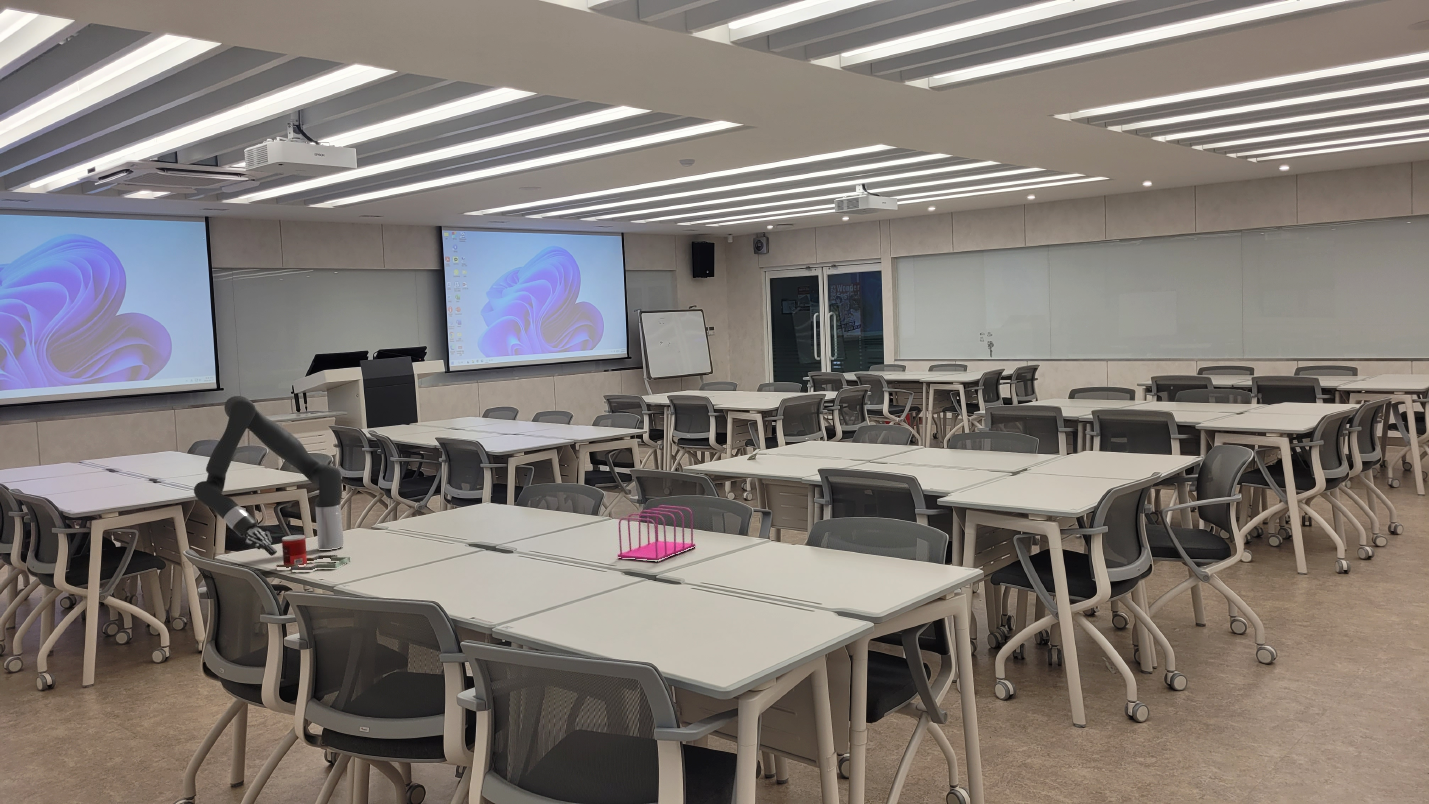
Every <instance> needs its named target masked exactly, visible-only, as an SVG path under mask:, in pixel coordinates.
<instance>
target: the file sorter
mask: <svg viewBox="0 0 1429 804" xmlns="http://www.w3.org/2000/svg"><path fill="white" fill-rule="evenodd" d="M666 508H669V509H666ZM677 509H678V510H677ZM679 509H681V510H687V511H689V514H690V541H691V543H690V542H685V518H684V517H685V516H684V514H683V513H682V512H681V511H680V510H679ZM645 512H646V513H645ZM670 512H676V513H679V514H680V516H681V526H682V527H681V529H682V532H681V533H682V542H680V541H679V542H678V541H677V538H676V537H677V536H676V535H677V531H676V530H677V529H676V526H677V523H676V518H675V516H674V514H673V513H670ZM650 513H651V514H650ZM653 513H654V514H653ZM659 514H660V515H659ZM662 515H667V516H671V518H672V519H673V541H667V535H666V534H667V533H666V532H667V531H666V521H665V518H664V517H663V516H662ZM631 516H638V517H631ZM641 516H644V517H645V516H646V517H647V518H641ZM650 517H655V520H653V519H651V518H650ZM658 518H660V519H661V520H662V525H663V540H659V519H658ZM623 520H627V531H628V543H629V544H628V545H629V550H627V551H624V552H623V547H622V533H621V531H622V530H621V522H622V521H623ZM630 520H636V521H638V547H635V548H632V540H631V527H630V526H631V525H630ZM641 521H647V522H646V523H647V525H646V527H647V544H646V543H645V544H643V545H642V544H641V543H642V538H641V533H642V532H641V531H642V530H641V527H642V526H641V525H642V524H641ZM650 522H651V523H653V526H654V527H653V528H654V541H652V542H650V539H651V538H650ZM693 523H694V521H693V512H692V510H691V509H690V508H689V507H684V506H674V505H673V506H672V505H663V504H662V505H658V506H657V507H656V508H654V507H651V508H649V509H648V510H647V509H643V510H641V511H640V512H639V513H634V512H633V513H631V514H629V515H628V517H621V518H620V519H619V521H618V538H619V539H618V540H619V553H618V554H617V558H618V557H621V558H635V559H647V560H659V559H662V558H665V557H668V556H670V555H672V554H676V553H678V552H681V551H684V550H686V549H688V548H691V547H694V546H695V547H696V543H694V530H693V529H694V527H693V525H694V524H693Z"/></svg>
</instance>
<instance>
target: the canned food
mask: <svg viewBox="0 0 1429 804" xmlns="http://www.w3.org/2000/svg"><path fill="white" fill-rule="evenodd" d="M306 543H307V541H306V536H305V535H304V534H294V535H288V536H287V535H286V536H284V537H282V538H281V547H282V560H283V561H282V562H283V563H282V564H283V565H292V564H298V565H304V564H306V563H307V558H308V557H307V545H306ZM307 564H308V563H307Z"/></svg>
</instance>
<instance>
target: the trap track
mask: <svg viewBox="0 0 1429 804" xmlns="http://www.w3.org/2000/svg"><path fill="white" fill-rule="evenodd" d="M323 558H330V559H331V561H339V562H337V563H315V564H314V565H311V566H305V567H299V566H298V564H292V565H284V564H276V567H286V568H289V567H291V570H313V569H315V568H337V567H339V566H341V565H343V564H345V563H347V562H350V563H351V557H350V556H340V557H339V556H338V554H318V555H316V556H314V557H307V561H314V560H317V559H323ZM291 570H290V571H291Z"/></svg>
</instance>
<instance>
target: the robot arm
mask: <svg viewBox="0 0 1429 804" xmlns="http://www.w3.org/2000/svg"><path fill="white" fill-rule="evenodd" d="M223 409H224V412H225V415H226V416H227V417H228V421H227V425H226V427H225V429H224V431H223V434H222V436H221V438H220V439H219V440H218V442H217V444H216V445H215V447H214V448H213V451H212V452H211V455H210V457H209V459H208V462H207V465H206V467H205V471H206V473H207V477H206V480H202V481H199V482H197V483H196V484H195V486H194V488H193V493H194V496H195V497H196V499H197V500H198V501H200V502H201V504H203V505H205V506H206V507H208V508H209V509H211V510H212V511H214V512H216V514H217V515H218V516H220V518H221V519H222V520H223V521H224V522H225V523H226V524H227V526H228V527H229V528H230V529H231V530H233V531H234V532H235V533H236V534H237V535H238V537H241V538H245V539H246V540H245V542H244V543H245V544H246V545H248V546H250V547H252V548H255V549H256V550H261V549H262V550H263V551H265V552H266V553H267V554H268V555H270V557H272V556H275V555H276V554H277V553H278V550H277V549H276V548H275V547H274V546H273V545H272V542H273V539H272V537H271V534H270V531H268V530H266V531H263V529H261V528H259V527H258V525H259V524H258V521H257V519H255V518H254V517H253V516H252V515H250V514H249V512H248V511H246V509H244V508H243V507H241V506H240V504H238V503H237V502H236V501H235V500H234V499H233V498H231V497H230V496H226V495H224V494H222V493H223V491H224V488H225V484H226V478H227V477H226V476H227V473H228V470H229V467H230V465H231V463H232V461H233V457H234V456H235V453H236V450H237V448H238V446H239V443H240V442H241V439H242V438H243V437H244V434H245V433H246V431H247V430H248V431H250V432H251V433H252V434H253V435H254V436H255V437H256V438H258V440H259V441H260V442H261V443H262V444H264V446H266V447H267V448H268V449H269V450H270V451H271V452H273V453H274V454H275V455H277V456H278V457H279V458H281V459H282V460H283V461H285V462H286V463H287V464H289V465H291V466H292V467H293V468H295V469H297V470H298V471H299V473H302V475H303V476H304V477H305V478H307V480H308V481H309V482H310V483H311V484H312V485H313V486H315V487H316V488H318V495H317V498H316V499H315V500H314V504H315V521H316V532H317V533H316V534H317V537H316V538H317V548H319V549H332V548H338V547H342V546H343V544H344V530H343V522H342V508H341V505H342V504H341V500H342V497H343V479H342V474H341V471H340V469H339V468H338V467H336V466H334V465H332V464H331V465H330V464H325V463H323V462H321V461H320V460H317V459H316V458H315V457H314V456H312V455H311V454H310V453H309V452H308V451H307V449H306V448H305V446H304V445H303V443H302V441H300V440H299V439H298V438H297V437H296V436H295V435H293V434H292V433H291V432H290V431H288V430H287V429H285V428H284V427H282V426H281V425H279V424H277V422H274V421H273V420H272V419H270V418H268V417H267V416H265V415H264V414H262V413H261V411H259V410H258V409H257V407H256V406H255V404H254V402H252V400H250V399H249V398H246V397H245V396H241V395H234V396H231V397H229V398H227V400H226V401H225V403H224V408H223ZM343 547H344V546H343Z"/></svg>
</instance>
